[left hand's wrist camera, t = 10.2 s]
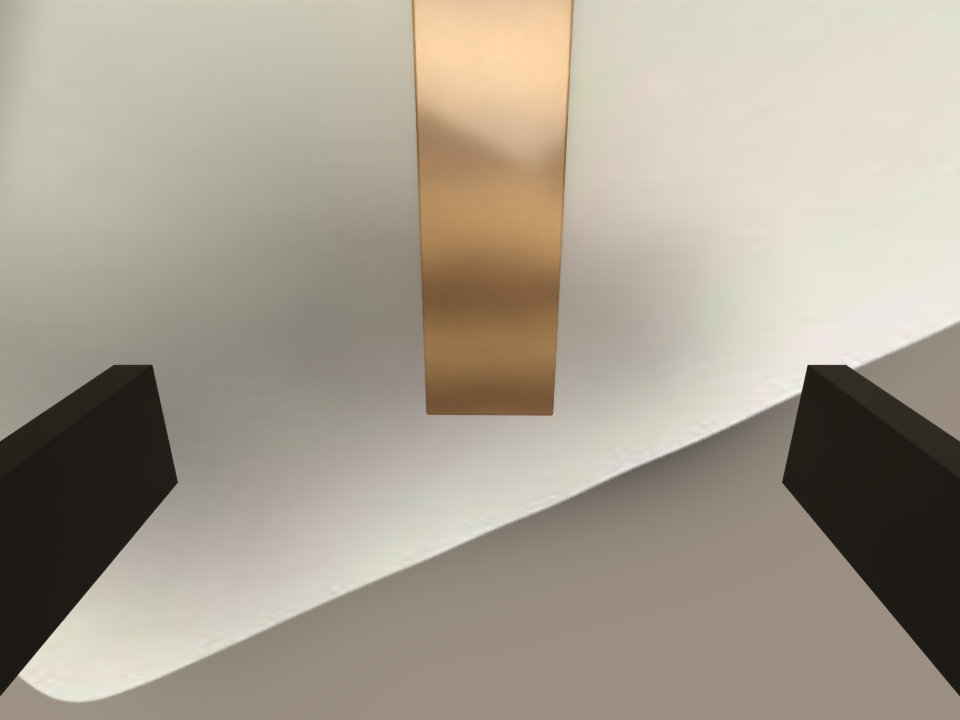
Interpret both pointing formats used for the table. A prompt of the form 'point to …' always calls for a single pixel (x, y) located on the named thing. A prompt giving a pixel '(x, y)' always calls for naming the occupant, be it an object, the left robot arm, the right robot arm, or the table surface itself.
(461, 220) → the bar
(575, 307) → the table surface
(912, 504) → the left robot arm
